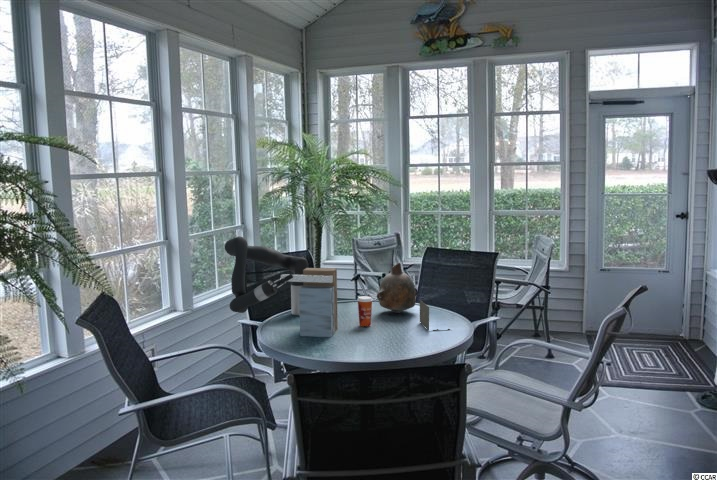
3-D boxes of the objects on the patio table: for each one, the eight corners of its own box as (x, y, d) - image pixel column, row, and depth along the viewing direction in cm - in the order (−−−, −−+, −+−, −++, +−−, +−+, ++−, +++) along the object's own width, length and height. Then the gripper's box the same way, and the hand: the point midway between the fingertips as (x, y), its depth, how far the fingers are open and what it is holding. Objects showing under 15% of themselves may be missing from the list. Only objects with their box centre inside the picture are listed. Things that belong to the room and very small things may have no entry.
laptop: (451, 331, 294) (452, 306, 292) (428, 332, 292) (428, 307, 291) (441, 322, 312) (441, 298, 310) (419, 323, 310) (419, 299, 308)
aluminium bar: (282, 280, 290) (282, 274, 290) (332, 281, 286) (332, 275, 285) (280, 281, 287) (280, 275, 286) (331, 282, 282) (331, 276, 282)
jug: (392, 306, 347) (392, 258, 344) (423, 311, 335) (423, 260, 331) (369, 315, 328) (369, 263, 324) (401, 320, 315) (401, 266, 312)
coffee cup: (361, 327, 300) (361, 299, 298) (354, 324, 307) (354, 297, 305) (375, 325, 303) (375, 298, 302) (368, 322, 311) (368, 295, 309)
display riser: (307, 328, 300) (306, 267, 297) (337, 329, 298) (336, 268, 294) (300, 335, 286) (298, 272, 282) (331, 337, 283) (330, 273, 279)
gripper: (256, 287, 284) (285, 270, 280) (266, 281, 297) (293, 266, 294) (264, 300, 284) (293, 284, 280) (273, 294, 297) (300, 279, 294)
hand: (293, 275), depth 287 cm, fingers closed on aluminium bar, 3 cm apart
